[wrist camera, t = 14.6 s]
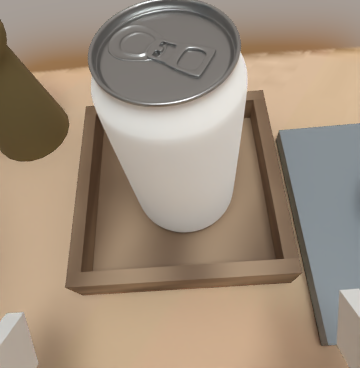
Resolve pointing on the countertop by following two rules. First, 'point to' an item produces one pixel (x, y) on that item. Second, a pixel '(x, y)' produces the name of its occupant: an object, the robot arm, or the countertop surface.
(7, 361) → the robot arm
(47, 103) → the cork
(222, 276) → the tray
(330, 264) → the crank base
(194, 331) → the countertop surface
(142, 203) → the can
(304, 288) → the countertop surface
